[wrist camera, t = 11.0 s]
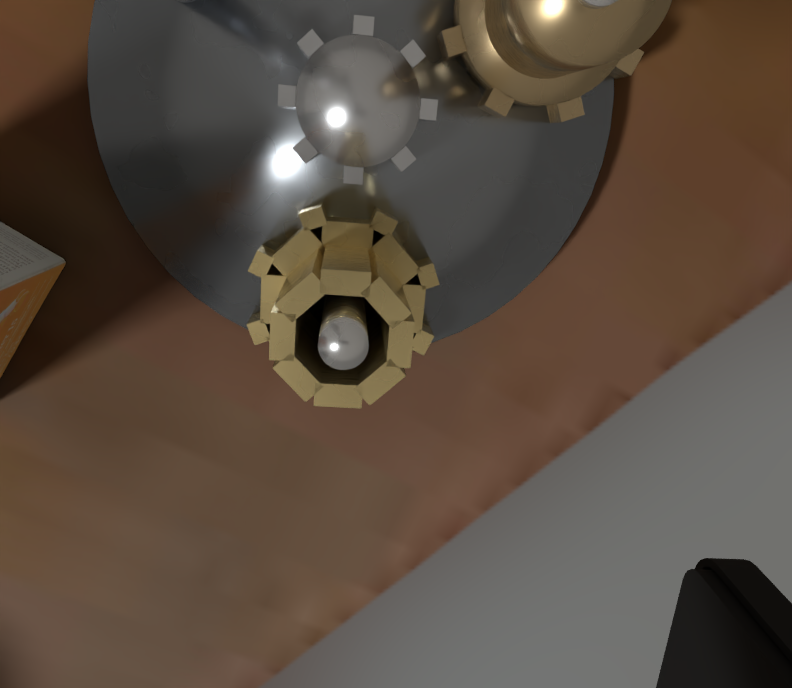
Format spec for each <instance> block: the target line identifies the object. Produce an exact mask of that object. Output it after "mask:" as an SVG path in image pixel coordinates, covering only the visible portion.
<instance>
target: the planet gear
mask: <svg viewBox="0 0 792 688" xmlns="http://www.w3.org/2000/svg"><path fill="white" fill-rule="evenodd" d="M299 217H300V220H301V223H302V225H303V227H302V228H301V229H299V230H298V231H297V232H296V233H295V234H294V235H293V236H291V237H290V238H289V239H288V240H287V241H286V242H285V243H284V244H282V245H281V246H280V247H279V248H278V249H277V250H276V251H274V250H272V249H270V248H268V247H266V246H264V245H261V246H260V248H259V249H258V250H257V252H256V254H255V256H254V259H253V261H252V263H251V265H250V267H249V269H248V272H250V273H252V274H254V275H256V276H259V277H261V306H260V312H259V313H256V314H253V315H251V317H250V319H249V321H248V322H247V324H246V325H247V327H248V330H249V332H250V335H251V337H252V340H253V342H254V345H257V344H260V343H263V342H266V341H269V342H270V346H269V360H275V362H274V365H273V369H274V370H275V371H276V372H277V373H278V374H279V375H280V376H281V377H282V378H283V379H284V380H285V381H286V383H287V384H288V385H289V386H290V387H291V388H292V389H293V390H294V391H295V392H296V393H297V394H298V395H299V396H300V397H301V398H302V399H303V400H304V401H305V402H306V401H307V400H309V399H310V398H311V397H312V396H313V395H314V406H326V407H345V408H361V406H362V398H363V399H364V400H365V401H366V402H367V403H368V404H369V405H371V404H372V403H373V402H375V401H376V400H377V399H378V398H380V397H381V396H382V395H383V394H384V393H386V392H387V391H388V390H389V389H391V388H392V387H393V386H394V385H395V384H397V383H398V382H399V381H400V380H402V379H403V378H404V377H405V376H406V374H405V369H404V368H410V367H411V356H412V350H414V351H416V352H418V353H420V354H422V355H424V354H425V352H426V351H427V349H428V347H429V345H430V343H431V341H432V340H433V338H434V334H433V332H432V330H431V327H430V326H428V325H426V324H424V323H423V314H424V304H425V293H426V289H428V288H431V287H434V286H437V285H440V284H439V281H438V277H437V274H436V271H435V268H434V264H433V262H432V261H431V259H430V258H429V257H426V258H423V259H420V260H417V261H415V260H414V259H413V257H412V256H411V255H410V254H409V253H408V252H407V250H406V249H405V248H404V247H403V246H402V244H401V243H400V242H399V241H398V240H397V239H396V237H395V236H394V235H393V234H392V233H393V231H394V229H395V227H396V225H397V223H398V220H397V219H396V217H394V216H392V215H391V214H389V213H387V212H385V211H383V210H381V209H379V208H377V207H375V209H374V211H373V213H372V215H371V217H370V219H369V220H367V219H354V218H341V217H328V216H327V214H326V211H325V208H324V205H323V203H320V204H317V205H314V206H311V207H308V208H305V209H302V210H301V211H300V212H299ZM320 226H322V236H321V235H320V234H319V233H318V232H317V230H316V229H315V228H317V227H320ZM373 230H375V231H377V232H379V233H380V234H379V235H378V236H377V237H375V238H374V239H373ZM272 264H273V265H274V266H275V267H276V268H271V266H272ZM416 274H417V278H413V277H414V276H415V275H416ZM325 294H329V295H344V296H358V297H365V298H366V300H367V301H368V302H369V303H370V304H371V305H372V306H373V307H374V309H375V310H376V311H377V312H378V314H376V315H375V316H374V317H373V318H372V319H371V320H369V321H368V322H367V332H368V343H369V349H368V353H367V356H366V358H365V359H364V360H363V362H362V363H361V364H359V365H358V366H356V367H355V368H352V369H348V370H338V369H335V368H332V367H330V366H329V365H327V364H326V363H325V362H324V361H323V360H322V358H321V356H320V354H319V351H318V340H319V334H320V327H321V323H320V322H319V321H318V320H317V319H316V318H315V317H314V316H313V315H312V314H311V313H310V312H309V311H308V309H309V308H310V307H311V306H312V305H313V304H314V303H316V302H317V301H318V300H319V299H320V298H321V297H323V296H324V295H325Z"/></svg>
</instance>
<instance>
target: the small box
mask: <svg viewBox="0 0 792 688" xmlns="http://www.w3.org/2000/svg"><path fill="white" fill-rule="evenodd" d="M65 264H66V261H65V260H64V259H63V258H62V257H60V256H58V255H56V254H54V253H53V252H51V251H49V250H48V249H46V248H44V247H43V246H41V245H39V244H37V243H36V242H34V241H32V240H31V239H29V238H27V237H26V236H24V235H22V234H21V233H19V232H17V231H16V230H14V229H12V228H10V227H9V226H7V225H5V224H4V223H2V222H0V378H1V376H2V374H3V372H4V371H5V369H6V367H7V365H8V363H9V362H10V360H11V358H12V356H13V355H14V353H15V351H16V349H17V347H18V345H19V344H20V342H21V340H22V338H23V336H24V335H25V333H26V331H27V329H28V328H29V326H30V324H31V322H32V321H33V319H34V317H35V316H36V314H37V312H38V310H39V309H40V307H41V305H42V304H43V302H44V300H45V298H46V297H47V295H48V293H49V291H50V290H51V288H52V286H53V285H54V283H55V281H56V280H57V278H58V276H59V275H60V273H61V271H62V269H63V268H64V266H65Z"/></svg>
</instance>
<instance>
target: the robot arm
mask: <svg viewBox="0 0 792 688" xmlns="http://www.w3.org/2000/svg"><path fill="white" fill-rule="evenodd" d="M656 688H792V603H791V602H790V601H789V600H788V599H787V598H786V597H785V596H784V595H783V594H782V593H781V592H780V591H779V590H778V589H777V588H776V587H775V585H773V583H772V582H771V581H770V580H769V579H768V578H767V577H766V576H765V575H764V574H763V573H762V572H761V571H760V570H759V568H758V567H757V566H756V565H754V564H753V563H752V562H750V561H748V560H744V559H713V558H705V559H702V560H700V561H699V562H698V564H697V565H696V568H695V569H691V570H688V571H687V572H686V573H685V576H684V578H683V581H682V585H681V589H680V593H679V597H678V601H677V605H676V610H675V614H674V617H673V621H672V626H671V630H670V634H669V638H668V642H667V646H666V650H665V654H664V658H663V662H662V666H661V670H660V674H659V678H658V682H657V687H656Z"/></svg>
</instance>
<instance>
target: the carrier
mask: <svg viewBox="0 0 792 688" xmlns="http://www.w3.org/2000/svg"><path fill="white" fill-rule="evenodd" d="M671 2H672V0H95V3H94V9H93V15H92V22H91V28H90V34H89V41H88V76H87V81H88V90H89V100H90V110H91V118H92V123H93V127H94V131H95V136H96V140H97V144H98V149H99V153H100V156H101V158H102V161H103V164H104V167H105V170H106V172H107V175H108V178H109V181H110V183H111V186H112V188H113V190H114V192H115V194H116V196H117V198H118V200H119V202H120V204H121V206H122V208H123V210H124V212H125V214H126V216H127V218H128V220H129V221H130V223H131V224H132V225H133V227H134V228H135V230H136V231H137V233H138V234H139V236H140V237H141V239H142V240H143V242H144V243H145V245H146V246H147V248H148V249H149V250H150V251H151V252H152V254H153V255H154V256H155V257H156V258H157V259H158V261H159V262H160V263H161V264H162V265H163V266H164V268H165V269H166V270H167V271H168V272H169V273H170V274H171V275H172V276H173V277H174V278H175V279H176V280H177V281H178V282H179V283H181V284H182V285H183V286H184V287H185V288H186V289H187V290H188V291H189V292H190V293H192V294H193V295H194V296H195V297H196V298H198V299H199V300H201V301H202V302H203V303H205V304H206V305H208V306H209V307H210V308H212V309H213V310H215V311H216V312H217V313H219V314H220V315H222V316H224V317H225V318H227V319H229V320H231V321H233V322H235V323H237V324H238V325H240V326H242V327H244V328H246V329H248V327H247V325H246V324H247V322H248V321H249V319H250V317H251V315H253V314H256V313H259V312H260V306H261V277H259V276H256V275H254V274H252V273H250V272H248V269H249V267H250V265H251V263H252V261H253V259H254V256H255V254H256V252H257V250H258V249H259V248H260V246H261V245H264V246H266V247H268V248H270V249H272V250H274V251H276V250H277V249H278V248H279V247H280V246H281V245H282V244H284V243H285V242H286V241H287V240H288V239H289V238H290V237H291V236H293V235H294V234H295V233H296V232H297V231H298V230H299V229H301V228H302V227H303V225H302V223H301V220H300V217H299V212H300V211H301V210H302V209H305V208H308V207H311V206H314V205H317V204H320V203H323V205H324V208H325V211H326V214H327V216H328V217H341V218H354V219H367V220H369V219H370V217H371V215H372V213H373V211H374V209H375V207H377V208H379V209H381V210H383V211H385V212H387V213H389V214H391V215H392V216H394V217H396V219H397V220H398V223H397V225H396V227H395V229H394V231H393V233H392V234H393V235H394V236H395V237H396V239H397V240H398V241H399V242H400V243H401V244H402V246H403V247H404V248H405V249H406V250H407V252H408V253H409V254H410V255H411V256H412V257H413V259H414V260H415V261H417V260H420V259H423V258H426V257H429V258H430V259H431V261H432V262H433V264H434V268H435V271H436V274H437V277H438V281H439V284H440V285H437V286H434V287H431V288H428V289H426V293H425V304H424V314H423V323H424V324H426V325H428V326H430V327H431V330H432V332H433V334H434V338H433V340H432V341H431V343H432V342H435V341H437V340H440V339H442V338H445V337H448V336H450V335H453V334H455V333H458V332H460V331H462V330H464V329H466V328H468V327H470V326H472V325H473V324H475V323H477V322H479V321H481V320H483V319H484V318H486V317H488V316H489V315H491V314H492V313H494V312H495V311H497V310H498V309H499V308H501V307H502V306H504V305H505V304H506V303H508V302H509V301H511V300H512V299H513V298H514V297H516V296H517V295H518V294H519V293H520V292H521V291H522V290H523V289H524V288H525V287H526V286H528V285H529V284H530V283H531V282H532V281H533V280H534V279H535V278H536V277H537V276H538V275H539V274H540V273H541V271H542V270H543V269H544V268H545V267H546V266H547V264H548V263H549V262H550V261H551V260H552V259H553V257H554V256H555V255H556V254H557V253H558V251H559V250H560V248H561V247H562V245H563V244H564V242H565V241H566V239H567V238H568V236H569V235H570V233H571V232H572V230H573V229H574V227H575V226H576V224H577V222H578V220H579V218H580V216H581V214H582V212H583V210H584V208H585V206H586V204H587V202H588V200H589V198H590V196H591V194H592V191H593V188H594V185H595V183H596V180H597V177H598V174H599V171H600V169H601V166H602V163H603V159H604V154H605V150H606V146H607V141H608V137H609V133H610V127H611V118H612V108H613V99H614V78H615V79H618V78H623V77H627V76H631V75H632V73H633V71H634V70H635V68H636V66H637V64H638V63H639V61H640V59H641V57H642V56H643V54H644V52H643V51H641V50H640V49H638V48H640V47H641V46H642V45H643V44H644V43H645V42H647V41H648V40H649V39H650V38H651V36H652V35H653V34H654V33H655V32H656V30H657V29H658V28H659V26H660V24H661V23H662V21H663V20H664V18H665V16H666V14H667V12H668V10H669V7H670V4H671ZM315 229H316V230H317V232H318V233H319V234H320V235H321V236H322V226H320V227H317V228H315ZM379 234H380V233H379V232H377V231H375V230H373V239H374V238H375V237H377V236H378V235H379ZM271 268H276V267H275V266H274V265H273V264H272V266H271ZM413 278H417V274H416V275H415V276H414V277H413ZM308 311H309V312H310V313H311V314H312V315H313V316H314V317H315V318H316V319H317V320H318V321H319V322H320V323H321V327H320V334H319V340H318V351H319V354H320V356H321V358H322V360H323V361H324V362H325V363H326V364H327V365H329V366H330V367H332V368H335V369H338V370H348V369H352V368H355V367H356V366H358V365H359V364H361V363H362V362H363V360H364V359H365V358H366V356H367V353H368V349H369V343H368V332H367V322H368V321H369V320H371V319H372V318H373V317H374V316H375V315H376V314H378V312H377V311H376V310H375V309H374V307H373V306H372V305H371V304H370V303H369V302H368V301H367V300H366V298H365V297H358V296H344V295H329V294H325V295H324V296H323V297H321V298H320V299H319V300H318V301H317V302H316V303H314V304H313V305H312V306H311V307H310V308H309V309H308Z"/></svg>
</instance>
